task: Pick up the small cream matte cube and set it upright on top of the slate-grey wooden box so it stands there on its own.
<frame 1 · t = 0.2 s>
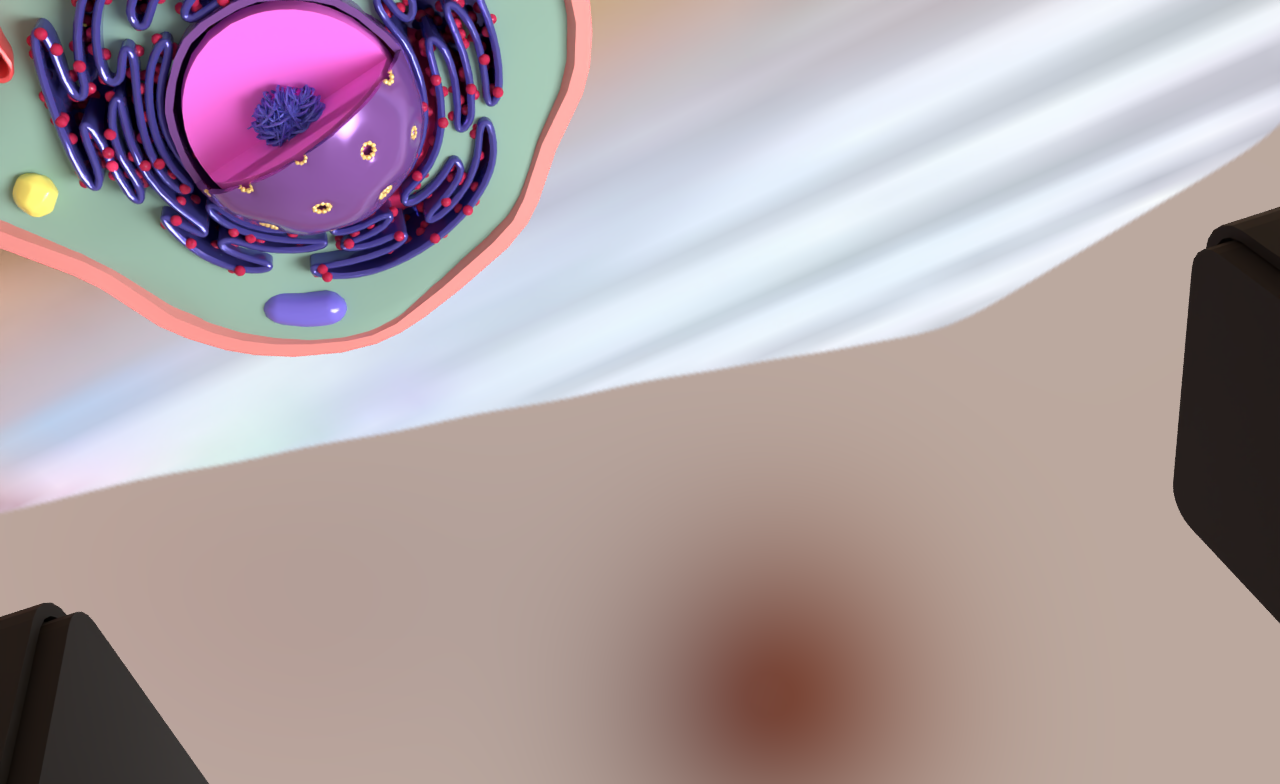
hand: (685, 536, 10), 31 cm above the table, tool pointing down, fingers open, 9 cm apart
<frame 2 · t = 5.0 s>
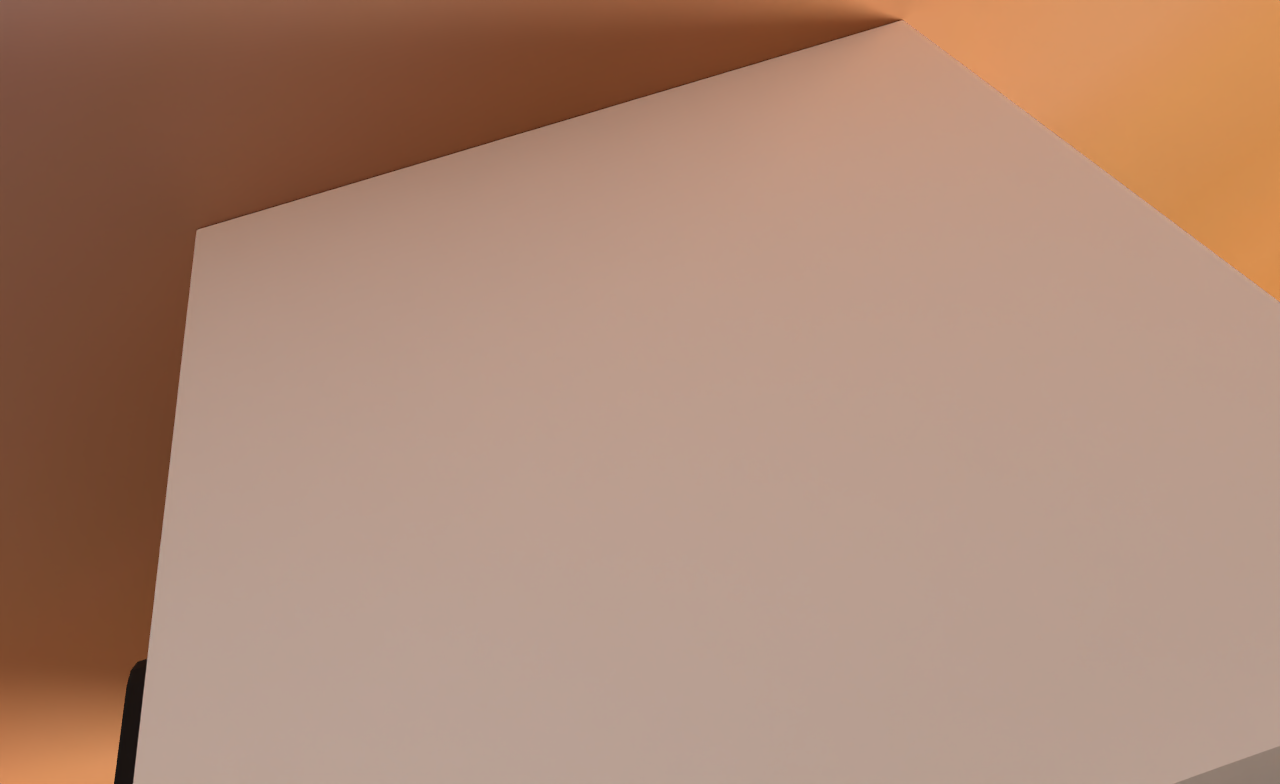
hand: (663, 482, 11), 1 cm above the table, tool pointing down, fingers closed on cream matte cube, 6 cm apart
cream matte cube: (632, 406, 12), on the table, touching gripper
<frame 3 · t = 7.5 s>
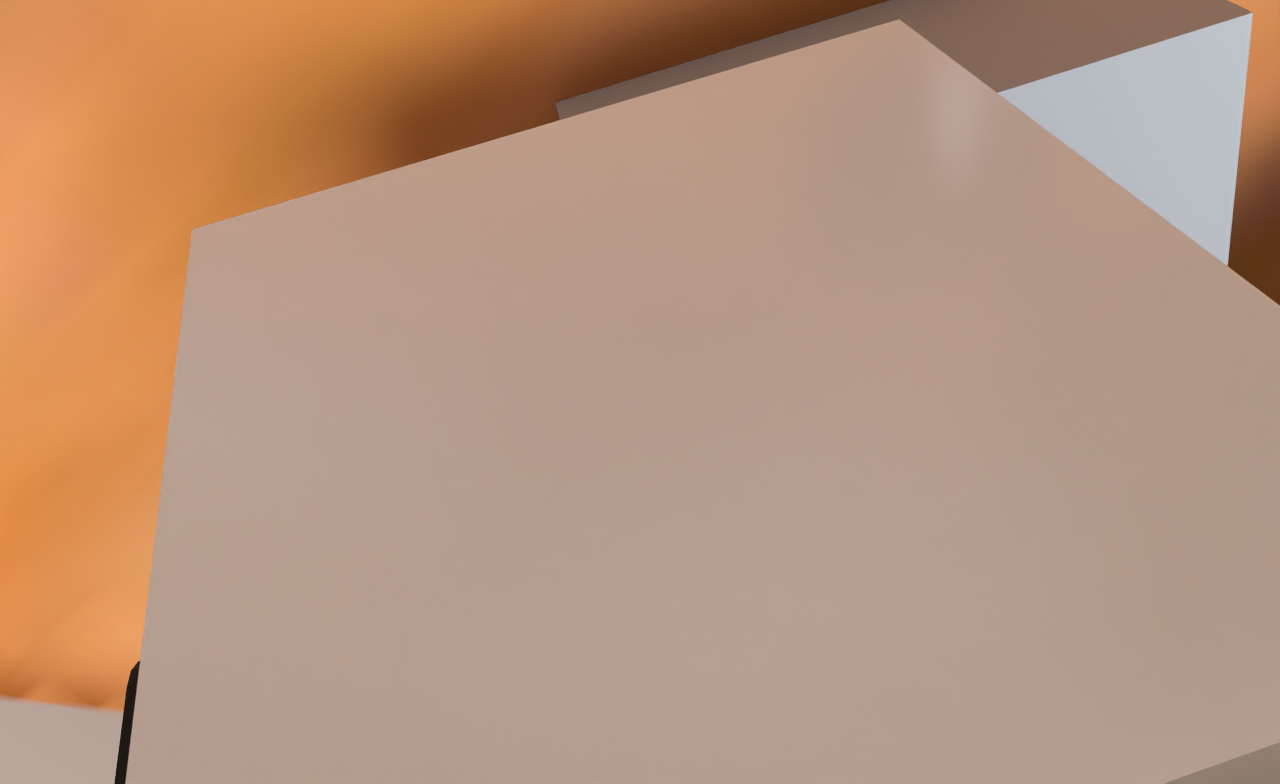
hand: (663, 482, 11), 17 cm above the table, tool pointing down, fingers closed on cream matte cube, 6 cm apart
cream matte cube: (629, 406, 12), point 16 cm above the table, touching gripper
base box: (852, 254, 32), on the table
when the fingers open (8 cm above the table, at t = 10.3 s): cream matte cube drops 1 cm, point 6 cm above the table.
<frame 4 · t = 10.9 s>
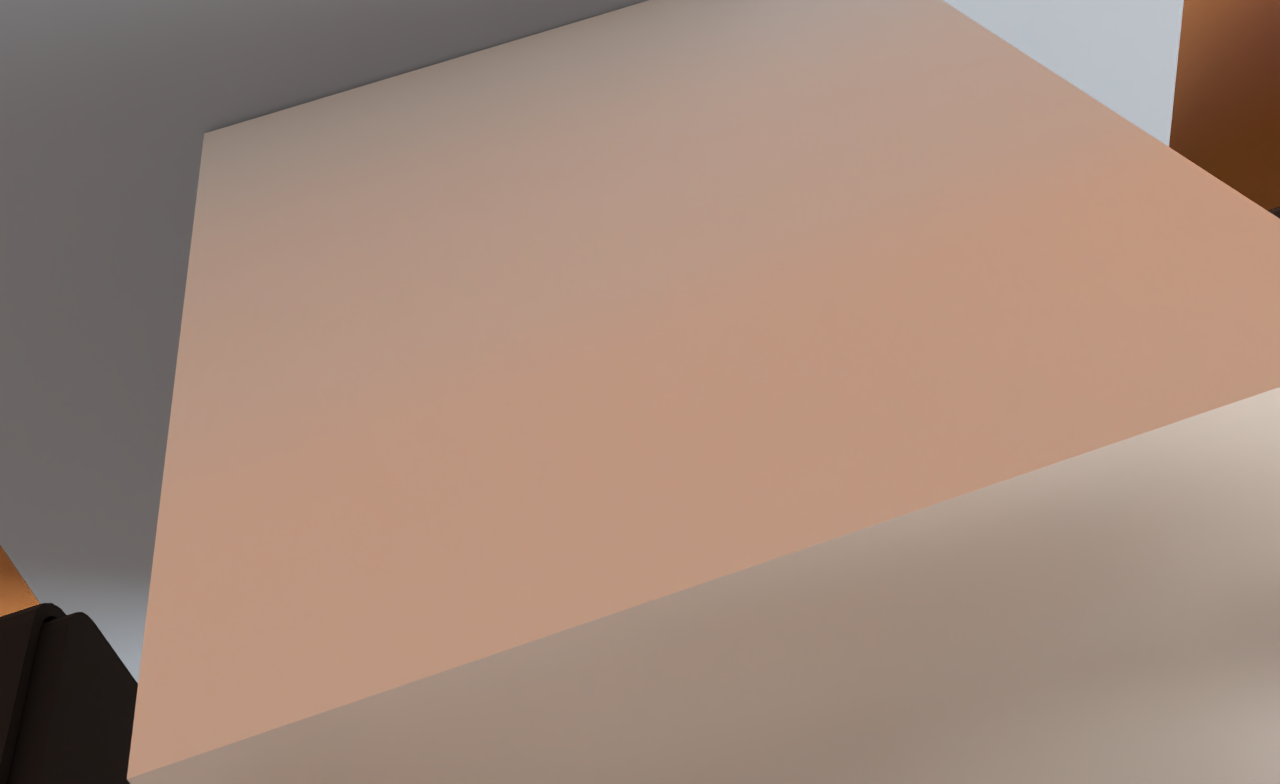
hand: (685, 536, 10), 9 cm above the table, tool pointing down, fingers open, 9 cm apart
cream matte cube: (608, 311, 13), point 6 cm above the table
base box: (511, 120, 18), on the table
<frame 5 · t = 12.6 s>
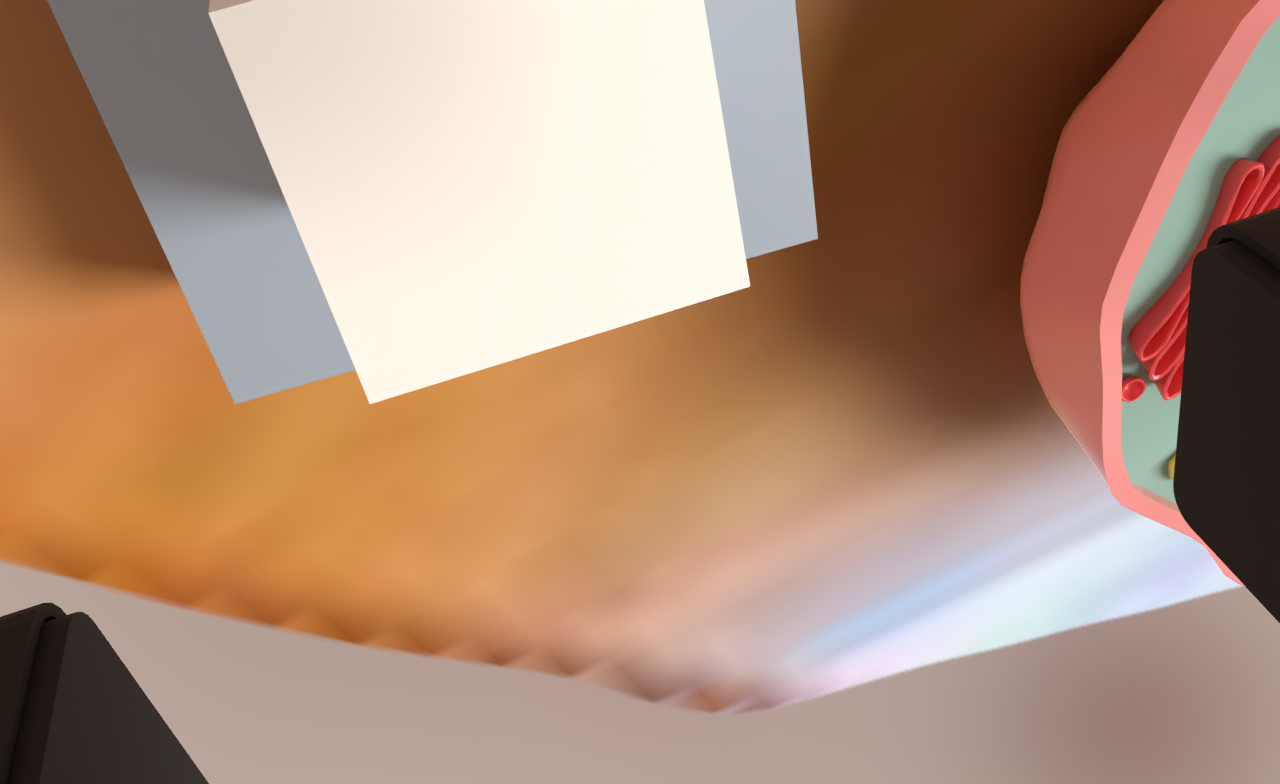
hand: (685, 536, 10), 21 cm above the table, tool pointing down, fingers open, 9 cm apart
cream matte cube: (449, 14, 22), point 6 cm above the table, touching base box
cell model: (1203, 162, 36), on the table
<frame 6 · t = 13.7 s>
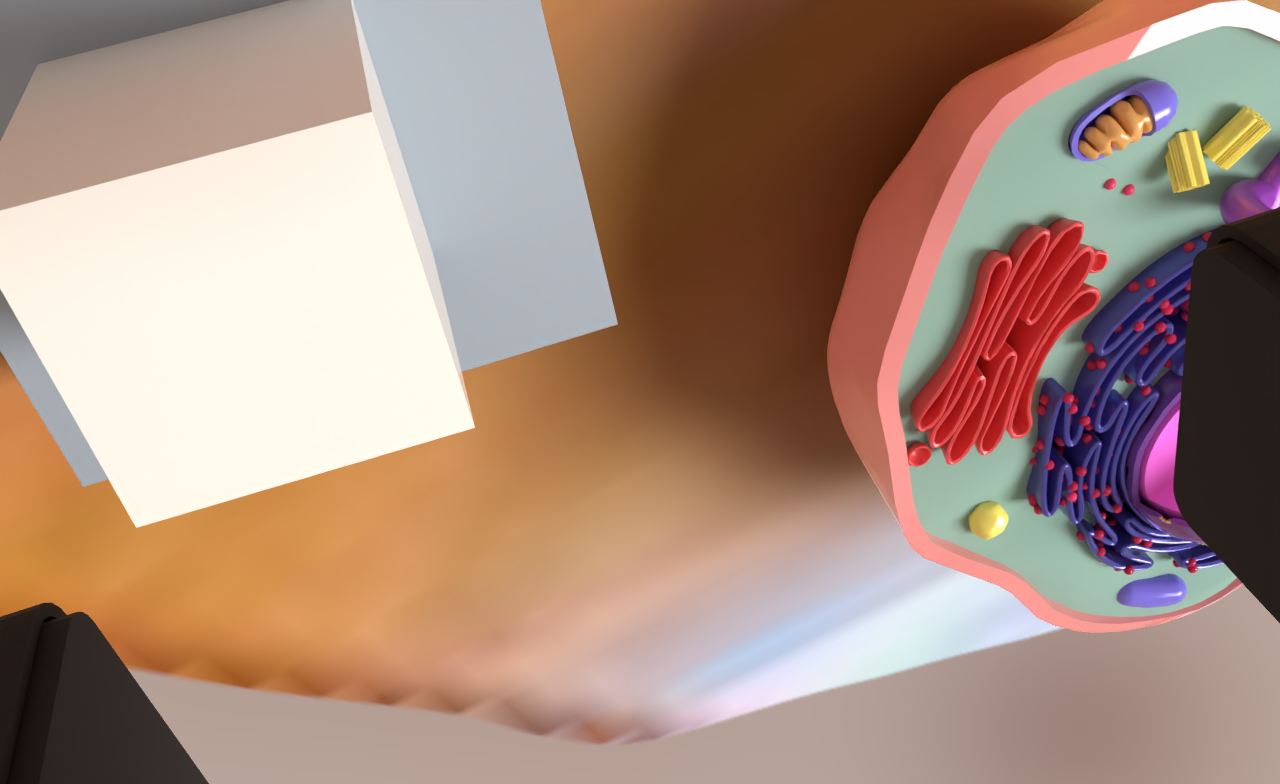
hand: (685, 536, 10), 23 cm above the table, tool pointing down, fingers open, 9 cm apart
cream matte cube: (251, 165, 25), point 6 cm above the table, touching base box
cell model: (1025, 228, 38), on the table
base box: (256, 62, 30), on the table, touching cream matte cube
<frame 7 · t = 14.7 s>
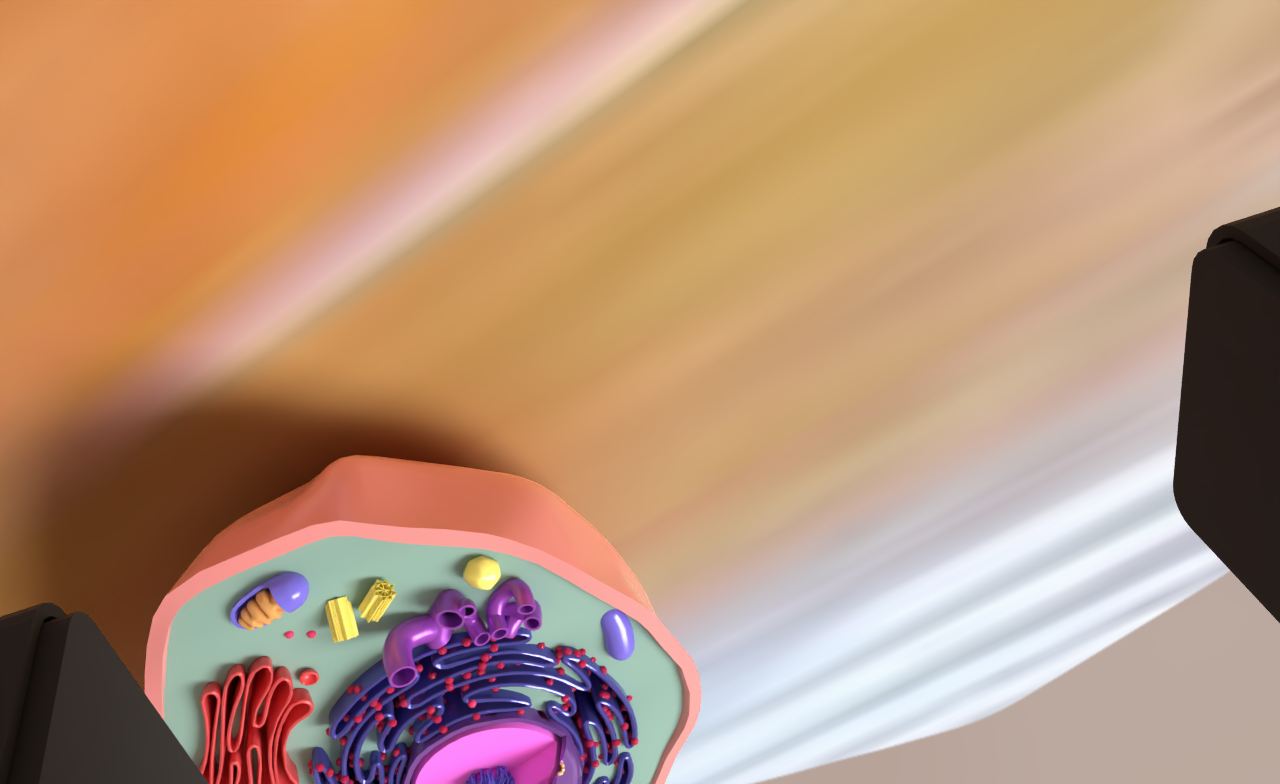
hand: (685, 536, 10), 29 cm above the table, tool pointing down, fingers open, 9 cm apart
cell model: (410, 567, 47), on the table
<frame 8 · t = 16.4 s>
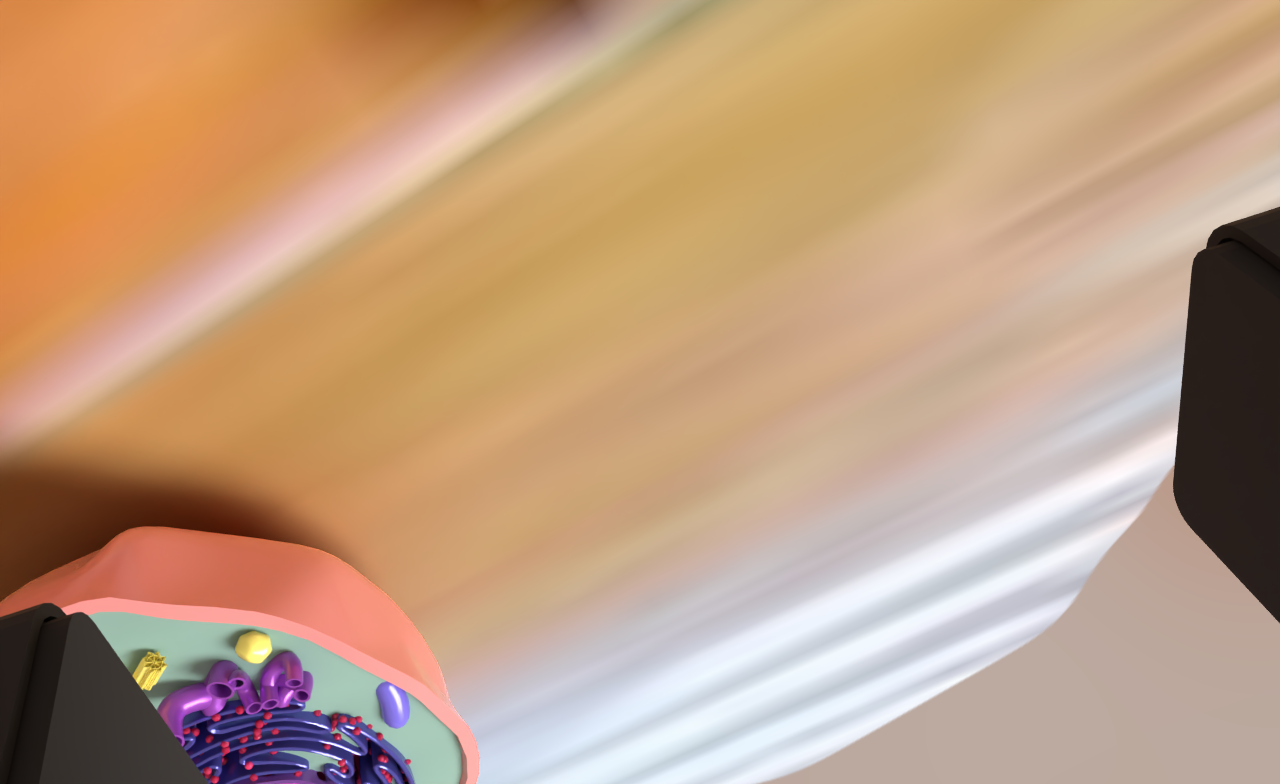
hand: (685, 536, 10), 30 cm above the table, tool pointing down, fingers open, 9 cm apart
cell model: (218, 621, 49), on the table
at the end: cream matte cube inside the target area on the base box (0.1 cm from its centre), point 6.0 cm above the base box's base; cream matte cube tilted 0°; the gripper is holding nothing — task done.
